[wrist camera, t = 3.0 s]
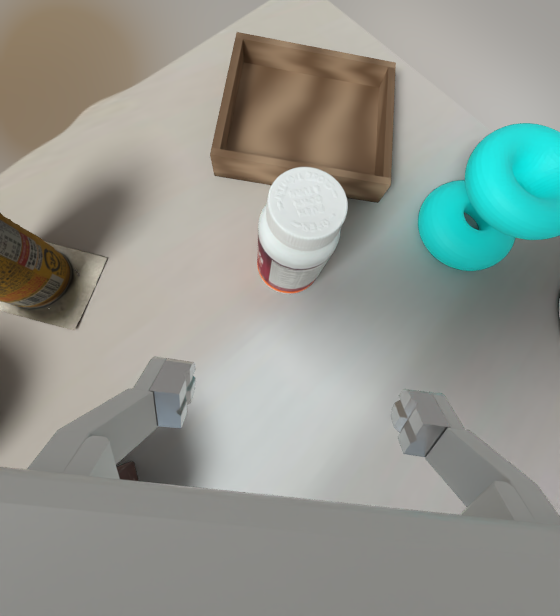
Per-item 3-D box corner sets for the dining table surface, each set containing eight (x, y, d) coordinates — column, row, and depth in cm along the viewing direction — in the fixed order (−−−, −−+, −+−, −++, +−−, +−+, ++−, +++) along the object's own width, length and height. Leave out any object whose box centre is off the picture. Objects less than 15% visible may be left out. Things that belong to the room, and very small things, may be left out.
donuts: (596, 124, 23) (619, 236, 21) (495, 198, 33) (502, 280, 30) (479, 105, 22) (489, 218, 20) (411, 186, 32) (413, 268, 30)
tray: (383, 88, 35) (395, 62, 32) (378, 202, 31) (390, 185, 28) (238, 61, 34) (236, 32, 31) (214, 175, 30) (210, 154, 27)
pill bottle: (260, 235, 29) (264, 151, 18) (319, 242, 29) (357, 165, 18) (253, 292, 28) (252, 239, 17) (315, 299, 28) (354, 252, 17)
